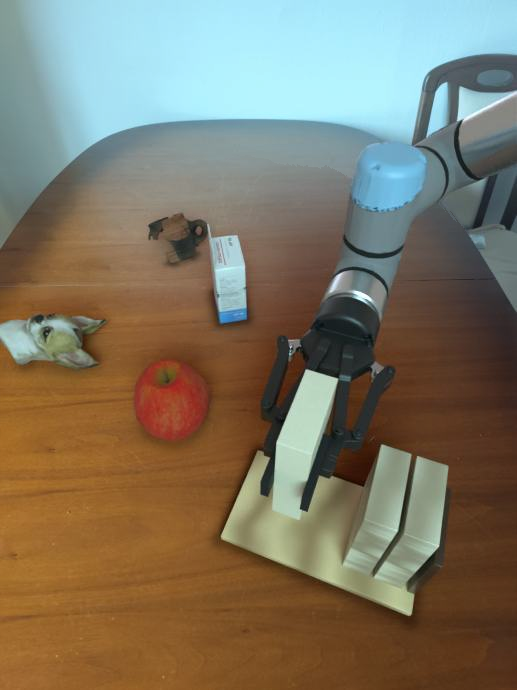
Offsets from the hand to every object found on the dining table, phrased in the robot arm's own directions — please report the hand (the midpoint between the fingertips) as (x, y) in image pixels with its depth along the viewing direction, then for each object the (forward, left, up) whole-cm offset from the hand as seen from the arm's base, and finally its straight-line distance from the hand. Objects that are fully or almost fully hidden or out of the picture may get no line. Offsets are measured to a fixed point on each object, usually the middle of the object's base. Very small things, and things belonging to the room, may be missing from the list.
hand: (284, 496), depth 39 cm
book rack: (-4, -5, -17) cm, 18 cm away
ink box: (+22, -36, -17) cm, 46 cm away
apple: (+20, -12, -17) cm, 29 cm away
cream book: (0, -5, -8) cm, 10 cm away
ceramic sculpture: (+43, -16, -17) cm, 49 cm away
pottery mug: (+38, -48, -17) cm, 64 cm away
